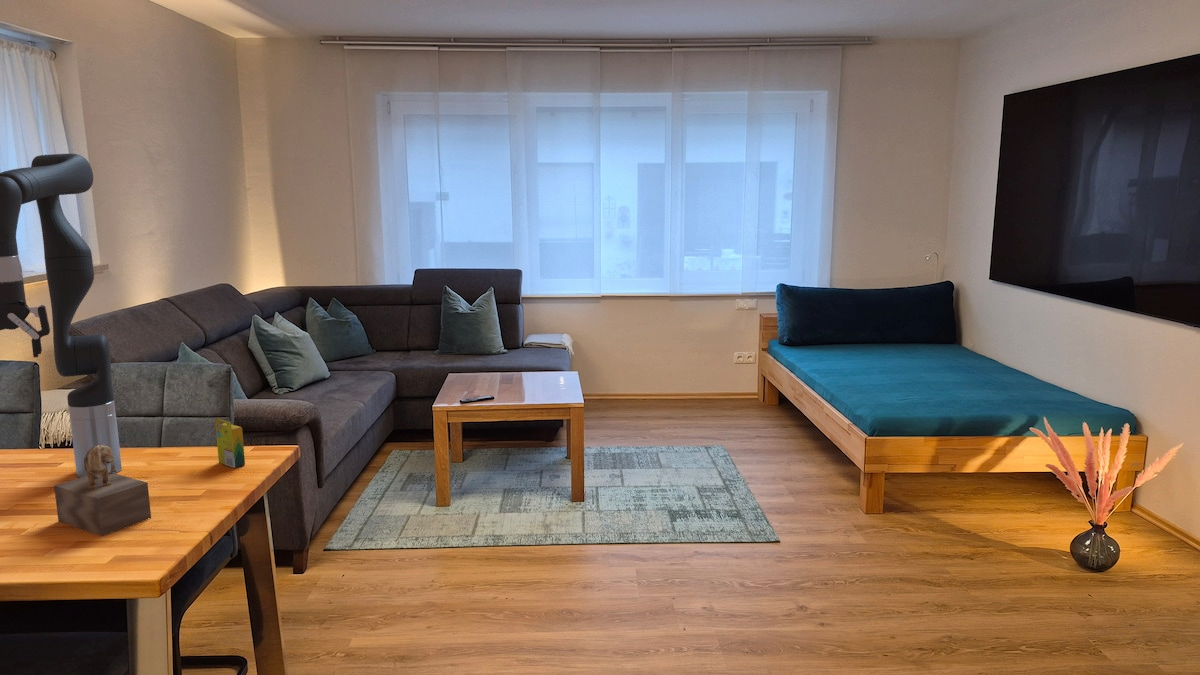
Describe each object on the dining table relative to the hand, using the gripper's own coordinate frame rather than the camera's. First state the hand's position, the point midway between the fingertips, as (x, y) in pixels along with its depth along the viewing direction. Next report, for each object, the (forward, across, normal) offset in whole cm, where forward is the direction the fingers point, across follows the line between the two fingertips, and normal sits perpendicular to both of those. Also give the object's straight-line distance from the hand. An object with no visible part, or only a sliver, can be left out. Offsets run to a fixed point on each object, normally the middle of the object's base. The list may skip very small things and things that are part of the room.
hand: (10, 359), depth 160 cm
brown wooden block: (+33, -13, +12) cm, 38 cm away
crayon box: (+33, -40, -12) cm, 53 cm away
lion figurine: (+25, -14, +11) cm, 31 cm away
